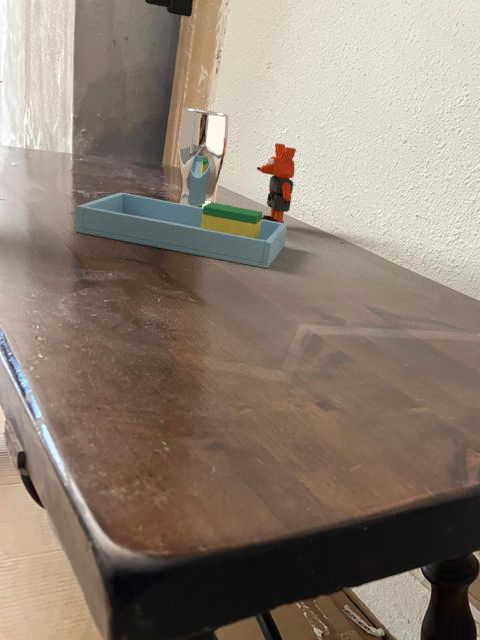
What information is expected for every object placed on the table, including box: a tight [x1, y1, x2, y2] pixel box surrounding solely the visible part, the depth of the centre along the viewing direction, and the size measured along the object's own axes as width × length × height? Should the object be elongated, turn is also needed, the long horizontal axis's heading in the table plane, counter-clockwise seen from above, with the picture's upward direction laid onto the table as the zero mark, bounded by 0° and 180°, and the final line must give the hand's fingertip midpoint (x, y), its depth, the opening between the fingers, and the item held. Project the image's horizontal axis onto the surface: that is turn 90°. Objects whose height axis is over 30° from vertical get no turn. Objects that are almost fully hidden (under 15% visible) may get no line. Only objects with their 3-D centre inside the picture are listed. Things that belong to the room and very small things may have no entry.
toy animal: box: [256, 142, 297, 224], centre depth 115 cm, size 8×6×12 cm
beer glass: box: [178, 107, 230, 208], centre depth 109 cm, size 7×7×15 cm
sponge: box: [201, 202, 263, 239], centre depth 98 cm, size 7×4×4 cm, turn 85°
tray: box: [75, 191, 288, 269], centre depth 96 cm, size 24×16×3 cm, turn 85°
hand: (169, 10), depth 94 cm, fingers open, 9 cm apart
